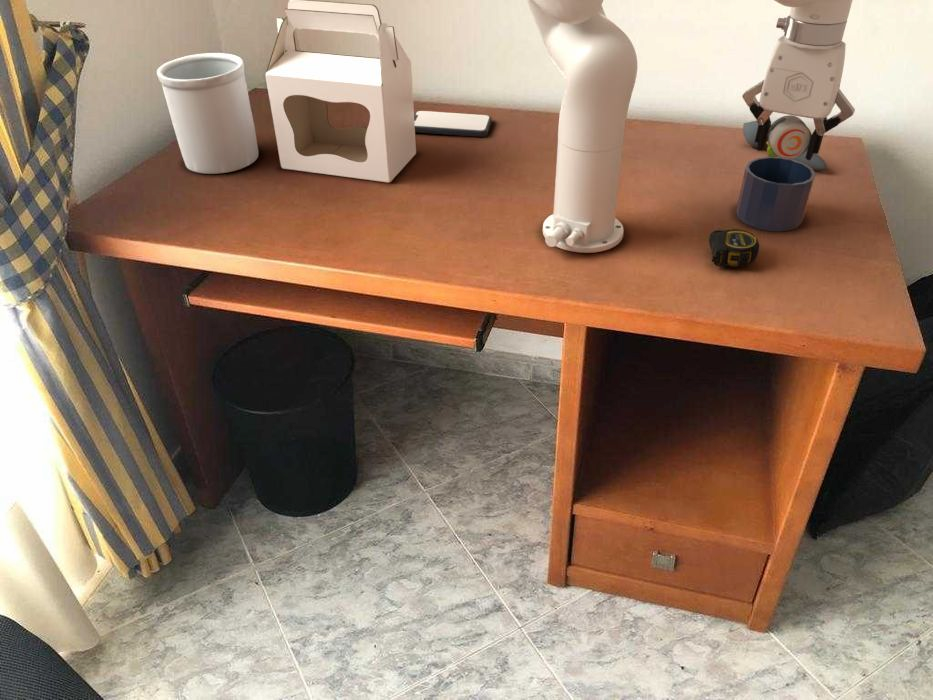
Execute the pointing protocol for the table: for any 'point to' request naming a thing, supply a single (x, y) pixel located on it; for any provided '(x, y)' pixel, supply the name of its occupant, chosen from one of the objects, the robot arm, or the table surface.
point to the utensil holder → (210, 111)
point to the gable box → (340, 95)
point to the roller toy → (788, 138)
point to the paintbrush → (750, 136)
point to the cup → (774, 193)
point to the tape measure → (733, 247)
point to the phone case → (452, 123)
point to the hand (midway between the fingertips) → (785, 151)
